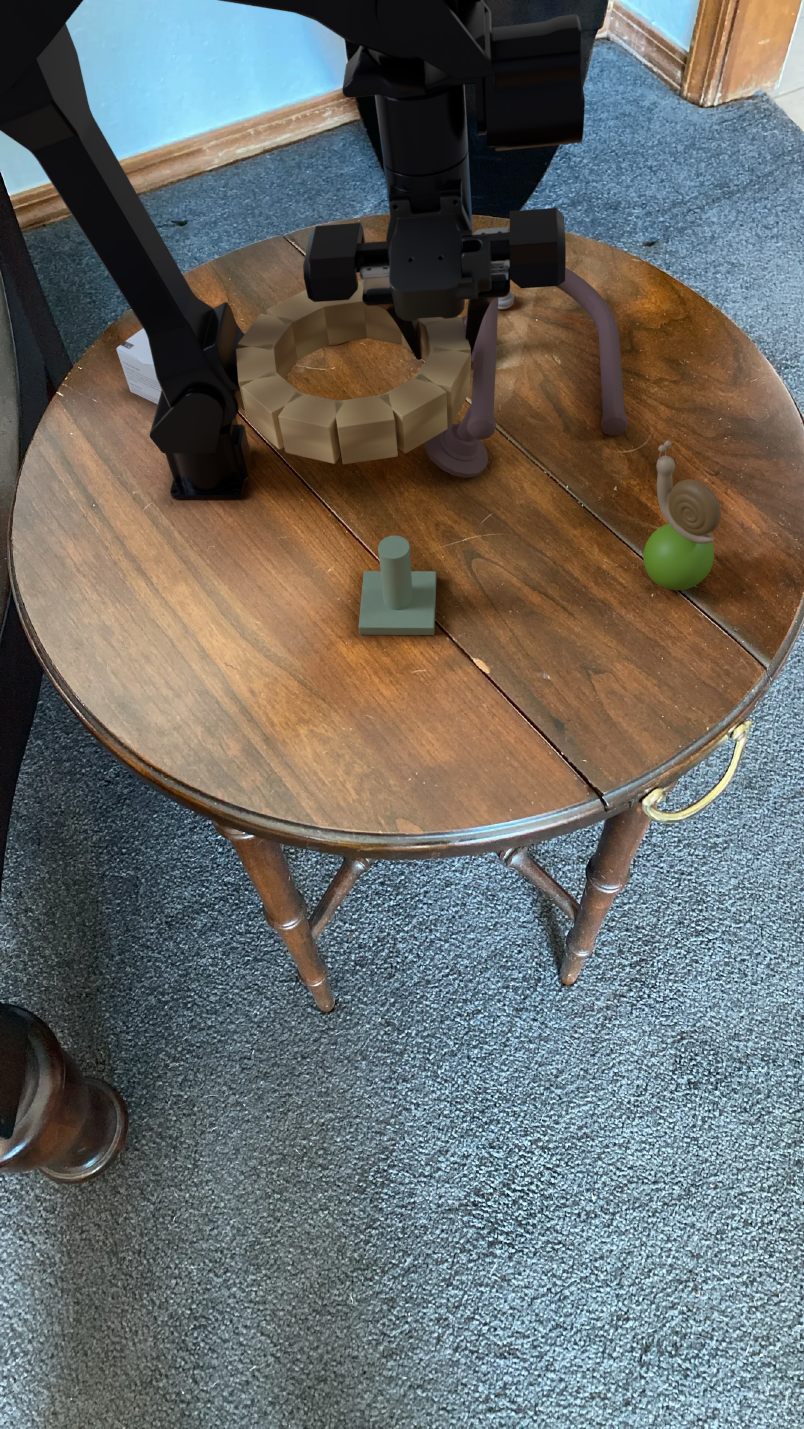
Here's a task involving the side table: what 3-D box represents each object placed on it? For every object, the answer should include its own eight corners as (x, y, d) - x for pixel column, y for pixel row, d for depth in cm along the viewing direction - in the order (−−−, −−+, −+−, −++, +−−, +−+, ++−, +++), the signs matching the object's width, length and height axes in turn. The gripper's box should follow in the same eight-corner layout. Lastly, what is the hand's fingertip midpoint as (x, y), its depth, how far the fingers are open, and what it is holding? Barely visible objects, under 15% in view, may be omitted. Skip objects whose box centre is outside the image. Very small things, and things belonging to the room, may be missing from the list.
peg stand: (359, 635, 78) (351, 576, 72) (364, 578, 81) (357, 518, 75) (434, 635, 77) (432, 576, 72) (436, 579, 81) (434, 518, 75)
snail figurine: (659, 538, 82) (686, 424, 72) (720, 579, 79) (757, 466, 69) (615, 571, 80) (637, 459, 70) (676, 615, 77) (708, 504, 67)
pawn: (504, 312, 100) (505, 276, 97) (483, 304, 101) (484, 268, 98) (518, 300, 101) (520, 264, 98) (498, 292, 102) (499, 256, 99)
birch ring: (252, 478, 73) (242, 441, 70) (240, 335, 83) (231, 297, 80) (487, 443, 74) (488, 405, 71) (447, 305, 84) (446, 267, 81)
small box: (239, 376, 97) (228, 331, 93) (185, 420, 94) (172, 375, 89) (181, 350, 100) (169, 305, 95) (128, 392, 96) (112, 347, 92)
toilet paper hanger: (638, 478, 84) (453, 409, 79) (595, 530, 89) (421, 468, 85) (622, 284, 99) (467, 217, 95) (587, 339, 105) (439, 278, 100)
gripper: (272, 231, 61) (318, 428, 74) (570, 209, 59) (564, 416, 72) (294, 142, 68) (333, 338, 80) (565, 118, 65) (561, 324, 78)
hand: (443, 355), depth 78 cm, fingers open, 3 cm apart
